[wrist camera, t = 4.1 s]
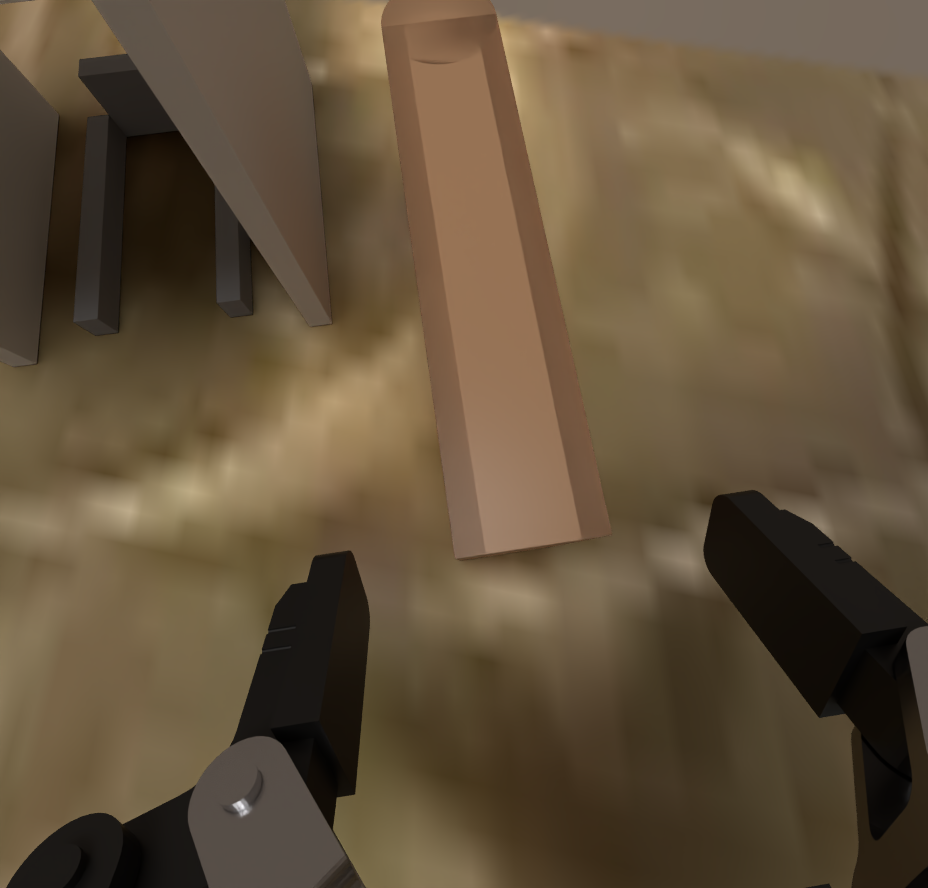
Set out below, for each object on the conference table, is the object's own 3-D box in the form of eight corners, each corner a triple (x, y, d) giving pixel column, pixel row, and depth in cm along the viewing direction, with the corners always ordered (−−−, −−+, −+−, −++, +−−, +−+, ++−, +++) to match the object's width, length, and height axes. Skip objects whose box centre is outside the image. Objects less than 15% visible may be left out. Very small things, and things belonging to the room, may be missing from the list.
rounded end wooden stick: (407, 183, 23) (375, -15, 15) (480, 174, 23) (486, -27, 15) (460, 560, 18) (455, 558, 10) (551, 546, 18) (612, 535, 10)
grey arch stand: (312, 83, 24) (113, -527, 11) (332, 323, 21) (76, -129, 7) (39, 116, 24) (-529, -475, 10) (13, 367, 20) (-896, -26, 7)
